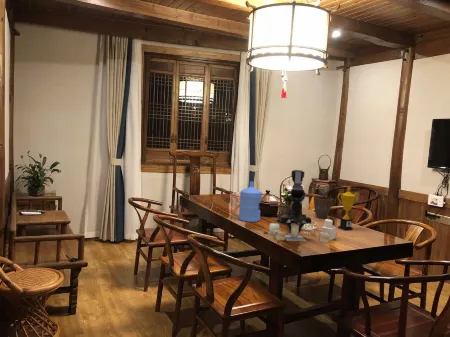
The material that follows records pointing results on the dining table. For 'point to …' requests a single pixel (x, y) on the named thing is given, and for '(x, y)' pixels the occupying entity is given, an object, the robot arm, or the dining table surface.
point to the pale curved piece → (273, 227)
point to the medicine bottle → (329, 228)
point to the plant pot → (322, 206)
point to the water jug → (250, 204)
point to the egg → (294, 230)
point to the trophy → (347, 209)
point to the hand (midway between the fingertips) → (294, 233)
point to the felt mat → (294, 238)
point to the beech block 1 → (279, 235)
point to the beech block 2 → (323, 237)
